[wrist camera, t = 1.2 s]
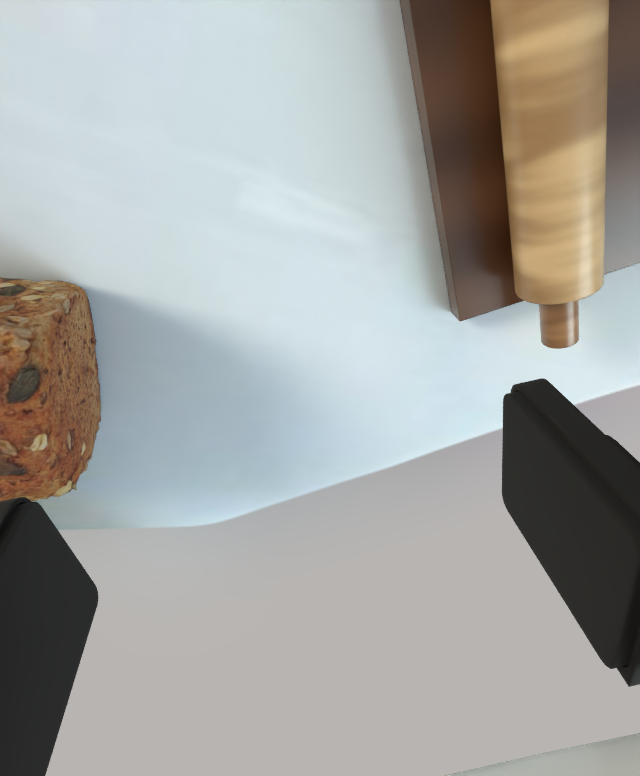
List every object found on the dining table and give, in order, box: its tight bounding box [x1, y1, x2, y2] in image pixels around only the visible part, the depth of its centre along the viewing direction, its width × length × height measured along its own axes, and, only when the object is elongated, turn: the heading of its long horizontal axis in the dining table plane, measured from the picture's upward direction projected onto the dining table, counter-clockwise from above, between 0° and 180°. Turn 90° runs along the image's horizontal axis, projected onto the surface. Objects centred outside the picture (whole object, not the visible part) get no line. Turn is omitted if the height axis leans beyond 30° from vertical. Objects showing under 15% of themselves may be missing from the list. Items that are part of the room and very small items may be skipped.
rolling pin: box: [490, 0, 609, 348], centre depth 23 cm, size 22×4×4 cm, turn 17°
